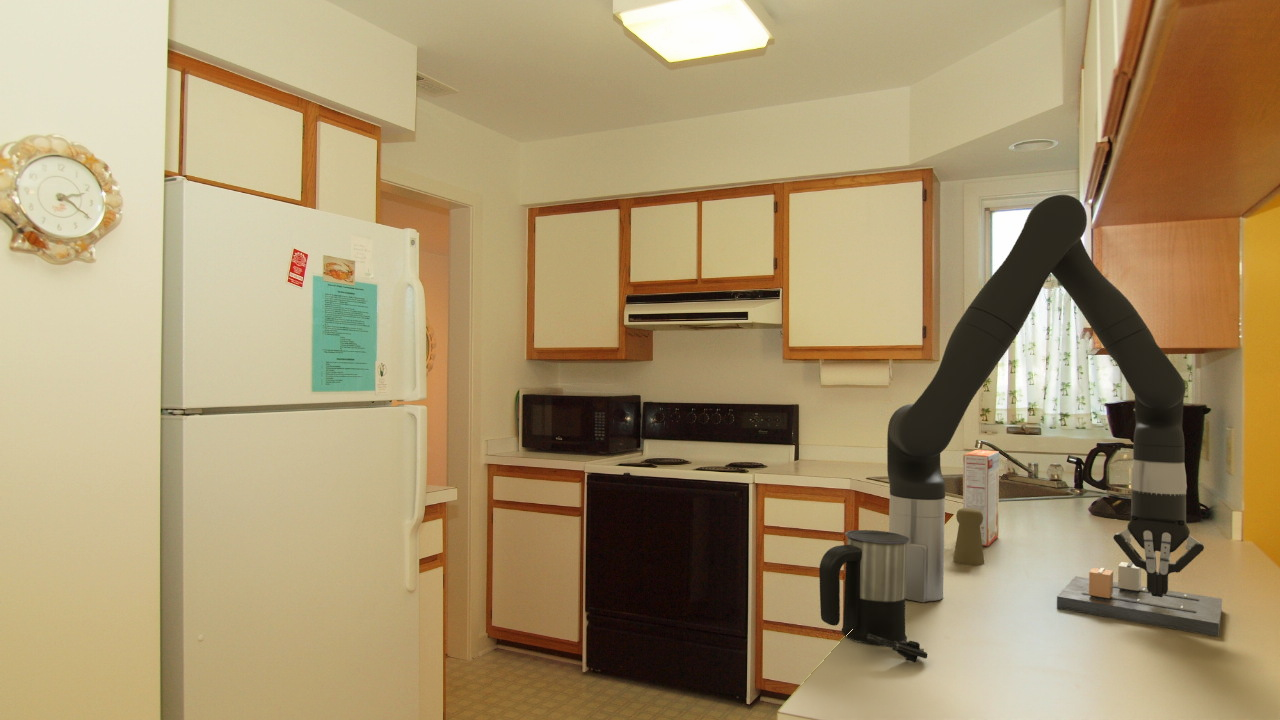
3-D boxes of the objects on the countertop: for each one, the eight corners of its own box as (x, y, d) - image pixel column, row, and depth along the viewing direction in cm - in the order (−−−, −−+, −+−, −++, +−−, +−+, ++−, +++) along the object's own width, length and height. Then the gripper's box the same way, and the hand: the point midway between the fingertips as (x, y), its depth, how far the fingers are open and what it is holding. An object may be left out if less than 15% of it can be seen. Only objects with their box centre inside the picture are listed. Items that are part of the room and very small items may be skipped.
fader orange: (1109, 598, 134) (1109, 573, 134) (1088, 594, 135) (1089, 570, 135) (1112, 593, 137) (1113, 569, 137) (1092, 590, 139) (1093, 566, 139)
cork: (987, 565, 165) (988, 511, 165) (956, 563, 167) (957, 510, 167) (981, 559, 171) (982, 507, 171) (950, 557, 172) (951, 505, 173)
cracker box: (972, 534, 199) (974, 449, 199) (999, 537, 196) (1000, 450, 196) (960, 543, 187) (962, 453, 187) (988, 547, 184) (990, 455, 184)
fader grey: (1138, 590, 139) (1138, 567, 139) (1118, 587, 141) (1118, 564, 141) (1140, 586, 142) (1141, 563, 142) (1121, 583, 144) (1121, 560, 144)
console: (1218, 636, 122) (1218, 622, 122) (1056, 608, 136) (1057, 595, 136) (1221, 610, 137) (1221, 598, 137) (1075, 587, 150) (1075, 575, 150)
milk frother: (865, 623, 125) (868, 526, 125) (963, 651, 113) (965, 544, 113) (807, 641, 116) (810, 536, 116) (907, 674, 104) (909, 557, 104)
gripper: (1108, 487, 133) (1107, 593, 132) (1207, 495, 125) (1206, 608, 125) (1114, 482, 139) (1113, 584, 138) (1208, 490, 131) (1208, 598, 131)
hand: (1157, 595), depth 132 cm, fingers closed
